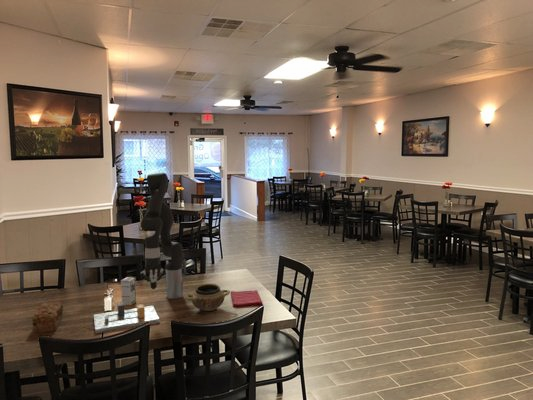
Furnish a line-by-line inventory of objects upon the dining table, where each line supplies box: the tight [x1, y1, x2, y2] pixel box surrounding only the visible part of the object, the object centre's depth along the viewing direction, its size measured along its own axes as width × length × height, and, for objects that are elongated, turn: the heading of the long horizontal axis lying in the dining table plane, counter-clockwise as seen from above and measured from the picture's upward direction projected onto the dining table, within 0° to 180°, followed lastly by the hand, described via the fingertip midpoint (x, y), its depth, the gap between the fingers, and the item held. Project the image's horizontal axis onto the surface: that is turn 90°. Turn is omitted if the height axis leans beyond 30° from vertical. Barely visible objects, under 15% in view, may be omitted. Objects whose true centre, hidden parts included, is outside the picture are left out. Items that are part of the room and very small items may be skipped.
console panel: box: [93, 301, 160, 334], centre depth 209 cm, size 30×20×7 cm, turn 115°
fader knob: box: [136, 303, 145, 318], centre depth 209 cm, size 3×5×5 cm, turn 25°
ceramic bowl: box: [184, 283, 231, 314], centre depth 222 cm, size 24×18×15 cm
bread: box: [31, 300, 64, 334], centre depth 204 cm, size 19×11×10 cm, turn 15°
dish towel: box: [230, 290, 264, 308], centre depth 239 cm, size 17×24×3 cm
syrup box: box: [120, 276, 137, 306], centre depth 233 cm, size 6×6×14 cm
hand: (153, 288), depth 211 cm, fingers closed
